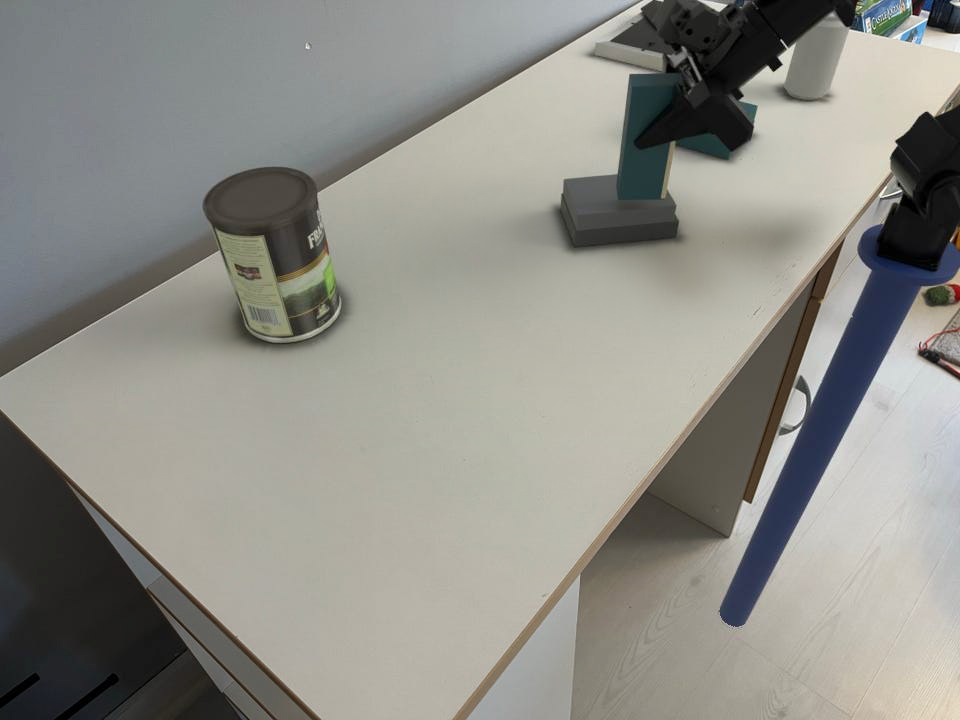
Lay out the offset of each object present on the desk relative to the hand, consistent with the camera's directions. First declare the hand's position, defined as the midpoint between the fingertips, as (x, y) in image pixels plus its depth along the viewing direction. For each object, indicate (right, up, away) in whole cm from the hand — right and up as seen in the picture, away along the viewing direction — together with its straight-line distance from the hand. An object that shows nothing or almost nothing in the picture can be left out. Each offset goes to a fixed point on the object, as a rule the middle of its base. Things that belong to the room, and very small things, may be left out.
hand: (634, 139), depth 74 cm
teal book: (+2, -4, +5) cm, 7 cm away
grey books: (0, -6, +11) cm, 13 cm away
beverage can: (+33, +17, +34) cm, 50 cm away
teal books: (+14, +8, +25) cm, 30 cm away
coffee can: (-36, -18, +2) cm, 40 cm away
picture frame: (+16, +31, +48) cm, 59 cm away
